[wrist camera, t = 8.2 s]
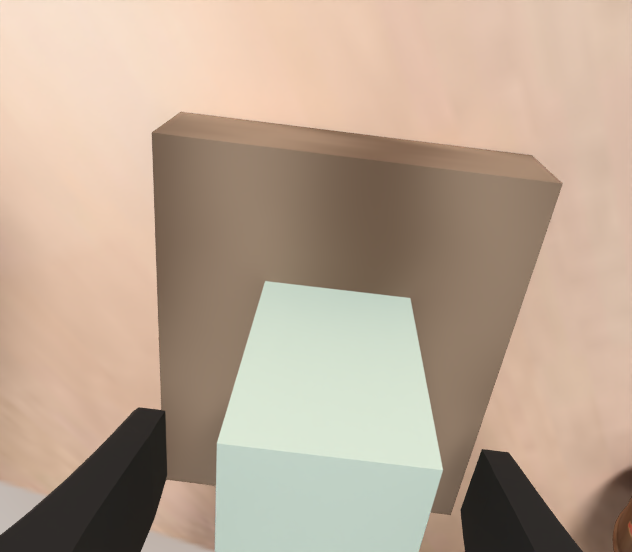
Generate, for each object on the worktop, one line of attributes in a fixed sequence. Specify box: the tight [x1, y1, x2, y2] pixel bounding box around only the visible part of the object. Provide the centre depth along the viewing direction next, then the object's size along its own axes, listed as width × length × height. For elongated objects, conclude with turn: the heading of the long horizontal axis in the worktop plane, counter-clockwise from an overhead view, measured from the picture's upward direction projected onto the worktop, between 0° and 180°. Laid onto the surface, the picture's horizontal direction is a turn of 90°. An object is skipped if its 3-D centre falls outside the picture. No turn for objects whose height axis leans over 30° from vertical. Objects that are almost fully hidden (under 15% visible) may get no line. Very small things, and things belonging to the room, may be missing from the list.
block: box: [215, 281, 443, 552], centre depth 13 cm, size 4×4×6 cm
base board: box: [152, 112, 563, 515], centre depth 17 cm, size 10×12×2 cm
